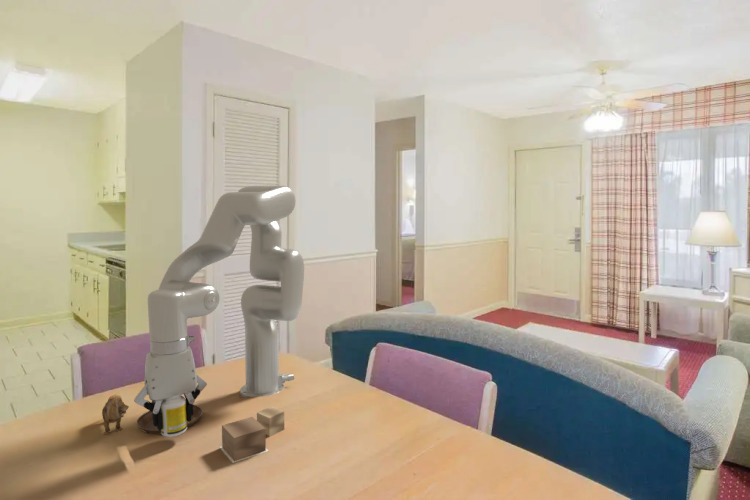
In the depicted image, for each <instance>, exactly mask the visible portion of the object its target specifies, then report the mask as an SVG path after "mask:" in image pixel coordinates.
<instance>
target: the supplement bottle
mask: <svg viewBox="0 0 750 500" xmlns="http://www.w3.org/2000/svg"><path fill="white" fill-rule="evenodd" d="M185 399H186V398H185V396H183V395H177V396H173V397H170V398H167V399H163V400H162V402H161V406H160V411H161V413H162V425H163V429H162V430H161V433H160V434H161V435H162V436H163V437H166V438H173V437H177V436H180V435H182V434H184V433H185V432H186V431H187V429H188V427H187V424H188V421H187V415H186V400H185Z"/></svg>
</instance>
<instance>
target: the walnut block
mask: <svg viewBox="0 0 750 500" xmlns="http://www.w3.org/2000/svg"><path fill="white" fill-rule="evenodd" d="M266 437H267V435H266V428H265V427H263V426H262V425H261V424H260V423H259V422H258V421H257V419H256V418H254V417H253V416H250V417H246V418H244V419H239V420H236V421H232V422H228V423H226V424H222V425H221V446H222V448H223V449H224V450H225V451H226V452H227V453H228V454H229V456H230V457H231V458H232V459H233V460H234V461H236V460H239V459H242V458H245V457H248V456H251V455H254V454H257V453H260V452H263V451H266V449H267V445H266V444H267V443H266V442H267V441H266V440H267V438H266Z"/></svg>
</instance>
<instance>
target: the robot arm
mask: <svg viewBox="0 0 750 500" xmlns="http://www.w3.org/2000/svg"><path fill="white" fill-rule="evenodd" d="M296 203H297V202H296V196H295V193H294V191H293V190H292V189H291V188H290V187H288V186H285V185H249V186H248V185H247V186H244V187H242V188H240V189H239V190H238V191H231V192H226V193H224V194H222V195H221V196H220V197H219V199H218V200H217V202H216V204H215V207H214V208H213V211H212V212H211V215H210V217H209V218H208V221H207V222H206V225H205V227H204V228H203V232H202V234H201V235H200V238H199V239H198V240H197V241H195V243H193V244H192V245H190V246H189V247H188V248H186V249H185V250H184V251H182V253H181V254H180V255H178V256H177V257H176V258H175V259H174V260H173V261H172V262H171V264H170V265H169V266H168V268H167V270H166V272H165V274H164V275H163V278H162V280H161V282H160V284H159V287H158V289H156V290H155V289H154V290H153V291H151V292H150V293H148V295H147V311H148V331H149V344H150V345H149V346H150V351H149V352H147V353H146V354H145V355H146V357H145V362H144V363H145V364H144V386H143V387H142V388H141V390H139V392H138V393H137V394H136V396H135V397H134V400H133V401H134V403H135V404H136V405H138V406H141V407H143V408H145V409H146V410H147V411H151V412H152V415H153V425H154V426H156V427H157V428H158V430H159V431H160V430H162V429H163V425H162V413H161V411H160V406H161V402H162V400H163V399H167V398H170V397H173V396H177V395H181V396H183V395H184V396H183V397H184V398H185V400H186V415H187V422H188V423H190V422H192V419H191V416H192V415H193V405H194V403H195V401H196V399H197V398H198V397H199V395H200V394H201V392H202V391H203V390H205V388H206V387H207V386H208V384H207V382H206V381H205V379H202V377H200V376H199V375H197V369H196V364H195V358H194V354H193V351H192V348H191V346H190V344H191V343H194V342H195V336H194V335H188V321H187V320H188V319H192V318H198V317H204V316H208V315H210V314H212V313H213V312H214V311H215V310H216V309H217V308H218V306H219V304H220V303H219V302H220V294H219V292H218V290H217V289H216V287H214V286H213V285H212V284H207V283H201V282H190V281H191V279H193V277H194V276H195V275H197V273H198V272H200V271H201V270H202V269H204V268H205V267H207V266H210V265H213V264H215V263H217V262H219V261H222V260H224V259H226V258H227V259H228V257H230V256H232V255H233V253H234V251H235V249H236V246H237V244H238V241H239V239H240V237H241V235H242V232H243V230H244V228H245V227H246V226H250V230H251V241H250V242H251V243H250V253H249V254H250V255H249V273H250V275H251V277H252V278H254V279H256V280H259V281H260V280H261V281H266V282H267V281H268V282H280V285H279V286H275V285H270V284H269V285H266V284H255V285H251V286H248V287H247V288H245V290H244V291H243V292H242V294H241V298H240V306H241V311H242V312H241V313H242V317H243V320H244V321H243V323H244V334H245V335H244V340H245V341H244V345H245V346H244V351H245V353H244V354H245V355H244V357H245V367H244V370H245V384H244V385H243V386H241V388H240V389H239V392H240V393H239V394H240V396H241V397H242V398H245V399H248V398H250V397H254V398H255V397H258V398H259V397H268V396H273V395H276V394H278V393H281V392H282V391H283V390H284V388H285V385H284V384H285V382H291V381H294V380H295V375H294V374H293V373H289V374H286V372H282V373H280V349H279V348H280V345H279V344H280V342H279V341H280V339H279V338H280V335H279V334H280V333H279V328H278V325H277V323H276V321H282V322H283V321H284V322H291V321H294V320H295V319H297V317H298V316H299V315H300V313H301V309H302V303H303V291H304V278H305V263H304V262H305V261H304V259H303V256H302V254H301V253H300V252H299V251H298V250H297V249H296V250H295V249H292V248H282V233H283V232H282V229H281V226H280V223H279V222H278V221H280V220H283V219H285V218H287V217H288V216H289V215H291V214H292V213H293V211H294V210H295V206H296ZM147 396H148V399H149V400H147V399H145V398H146V397H147Z"/></svg>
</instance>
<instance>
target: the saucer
mask: <svg viewBox="0 0 750 500" xmlns="http://www.w3.org/2000/svg"><path fill="white" fill-rule="evenodd" d="M202 414H203V409H202V408H201V407H200V406H198V405H196V404H193V415H192V416H191V421H190V422H187V428H189V427H191V426H193V425H194V424H195V423H197V422H198V421H199V419H200V418H201V417H202ZM193 419H194V420H193ZM136 425H137V426H138V429H140V430H141V431H143V432H144V433H146V434H161V430H160V431H159V430H158V428H157V427H156V426H154V425H153V415H152V412H151V411H149V410H147V411H146V412H144V413H142V415H140V416H139V417H138V419H136Z"/></svg>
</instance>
